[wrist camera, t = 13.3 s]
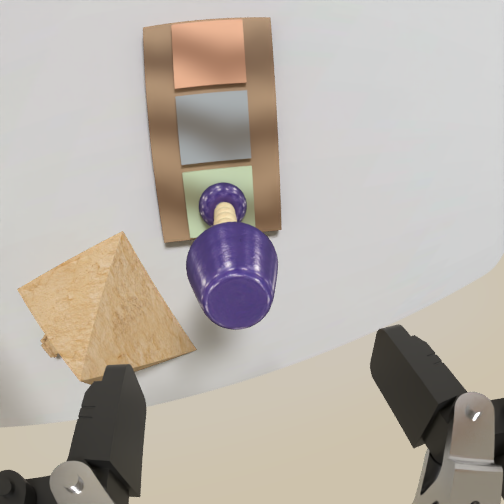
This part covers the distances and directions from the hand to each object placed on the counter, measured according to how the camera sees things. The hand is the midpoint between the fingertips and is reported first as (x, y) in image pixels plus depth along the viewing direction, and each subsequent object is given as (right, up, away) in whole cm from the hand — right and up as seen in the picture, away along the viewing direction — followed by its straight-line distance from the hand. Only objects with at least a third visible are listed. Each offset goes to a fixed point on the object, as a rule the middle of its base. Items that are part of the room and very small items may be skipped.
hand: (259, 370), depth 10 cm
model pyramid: (-17, -4, +24) cm, 30 cm away
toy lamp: (-3, +8, +19) cm, 21 cm away
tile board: (-4, +15, +17) cm, 23 cm away
